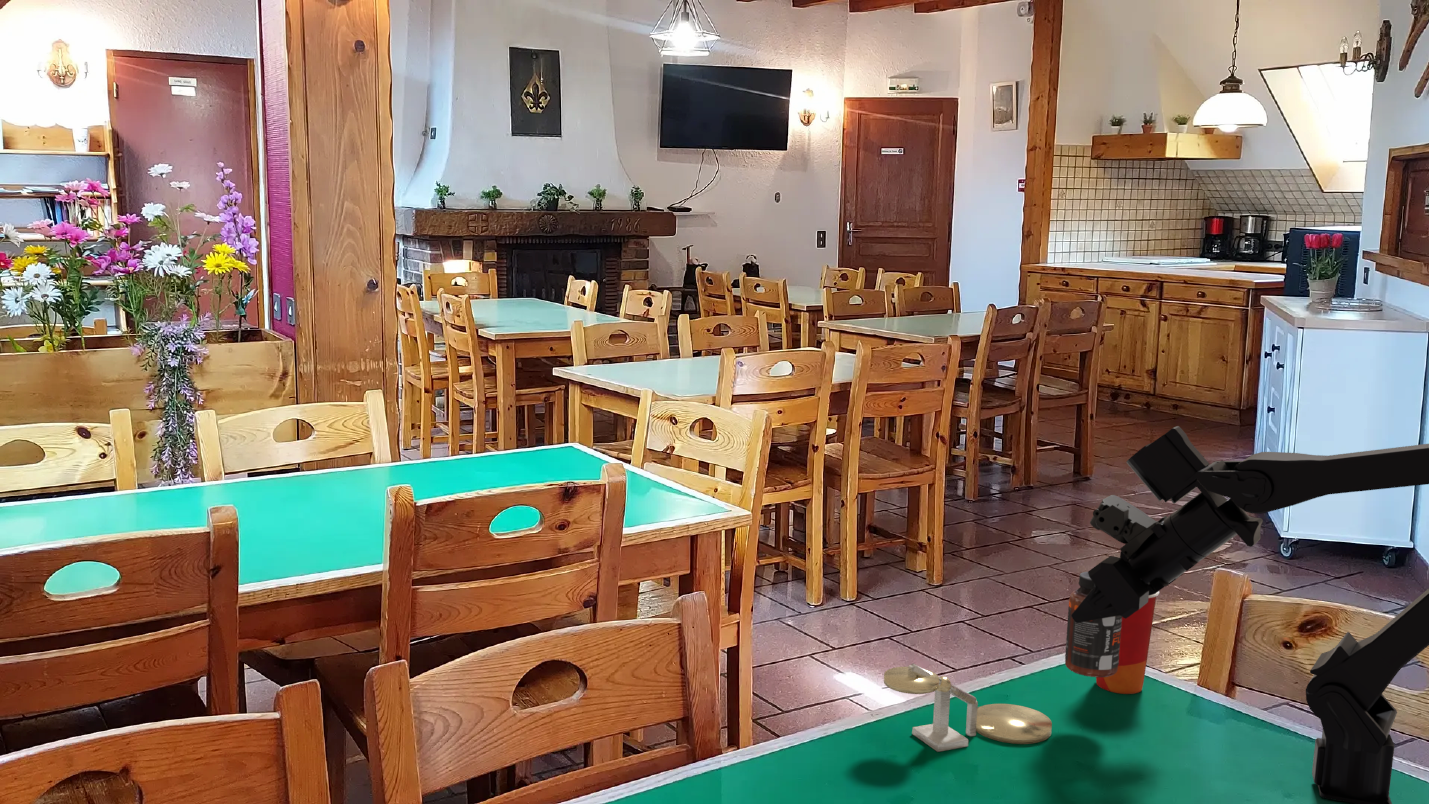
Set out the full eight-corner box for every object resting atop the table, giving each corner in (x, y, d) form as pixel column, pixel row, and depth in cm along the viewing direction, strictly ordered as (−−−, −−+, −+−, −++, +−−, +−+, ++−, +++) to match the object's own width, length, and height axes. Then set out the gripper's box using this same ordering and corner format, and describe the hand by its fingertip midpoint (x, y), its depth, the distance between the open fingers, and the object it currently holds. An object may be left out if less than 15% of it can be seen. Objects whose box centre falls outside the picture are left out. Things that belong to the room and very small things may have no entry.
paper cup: (1095, 670, 160) (1103, 566, 158) (1156, 682, 156) (1165, 576, 154) (1080, 689, 153) (1088, 581, 151) (1143, 702, 149) (1152, 592, 147)
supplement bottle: (1121, 681, 138) (1128, 585, 136) (1066, 676, 139) (1072, 580, 138) (1114, 663, 144) (1121, 570, 142) (1062, 659, 145) (1068, 566, 143)
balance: (1017, 707, 147) (1022, 632, 145) (1068, 736, 138) (1073, 657, 137) (863, 733, 138) (867, 653, 136) (907, 766, 130) (911, 682, 128)
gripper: (1163, 464, 143) (1065, 540, 151) (1113, 490, 128) (1007, 573, 136) (1228, 540, 140) (1125, 614, 148) (1185, 576, 125) (1072, 656, 133)
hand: (1083, 612), depth 141 cm, fingers closed on supplement bottle, 6 cm apart
